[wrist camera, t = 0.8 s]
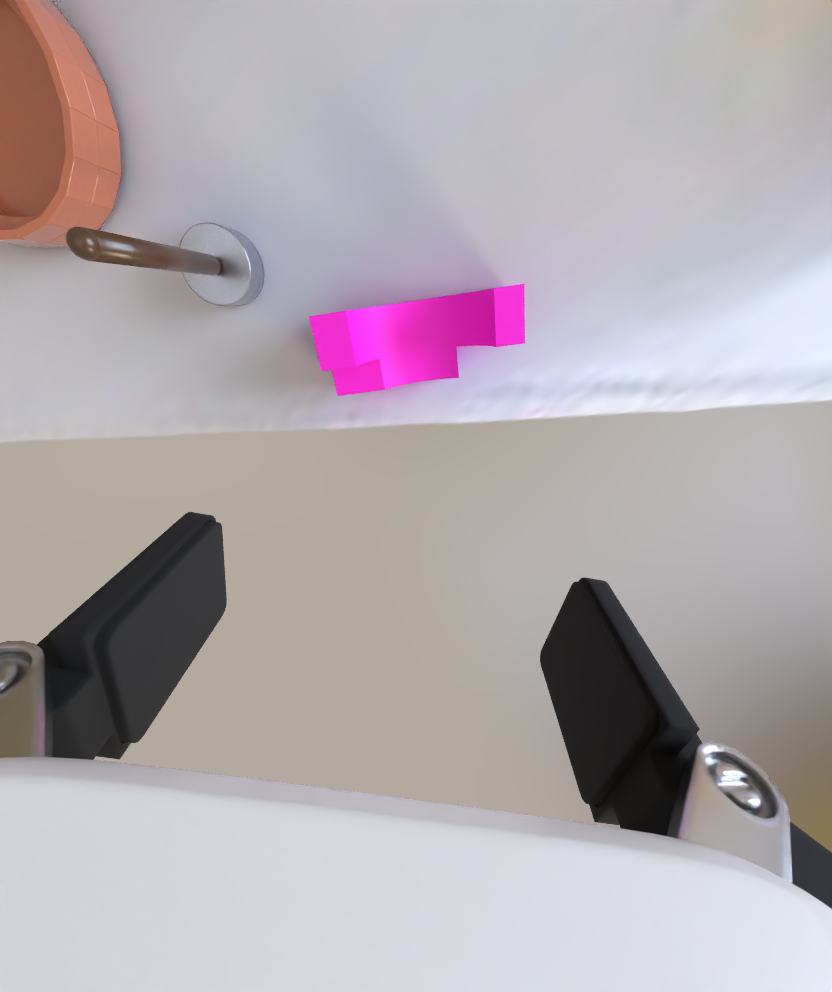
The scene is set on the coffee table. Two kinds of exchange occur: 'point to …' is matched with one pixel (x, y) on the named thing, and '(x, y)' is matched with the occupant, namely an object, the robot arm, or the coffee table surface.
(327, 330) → the toy block
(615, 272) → the coffee table surface
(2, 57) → the bowl
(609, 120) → the coffee table surface
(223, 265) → the meat pounder
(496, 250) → the coffee table surface
